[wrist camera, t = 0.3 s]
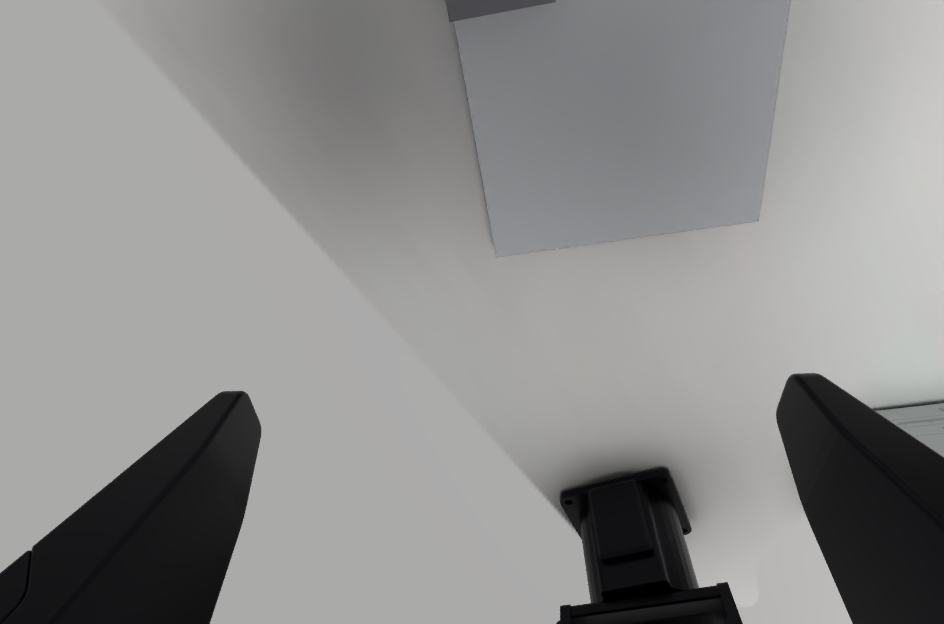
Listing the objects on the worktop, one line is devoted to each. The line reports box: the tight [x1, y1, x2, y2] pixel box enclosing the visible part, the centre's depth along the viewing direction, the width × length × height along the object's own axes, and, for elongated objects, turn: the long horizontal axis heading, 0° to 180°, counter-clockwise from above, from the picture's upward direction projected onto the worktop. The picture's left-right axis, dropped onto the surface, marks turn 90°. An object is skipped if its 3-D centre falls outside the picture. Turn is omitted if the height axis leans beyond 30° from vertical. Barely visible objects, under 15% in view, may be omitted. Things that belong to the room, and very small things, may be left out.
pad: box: [446, 0, 790, 257], centre depth 19 cm, size 10×10×2 cm
